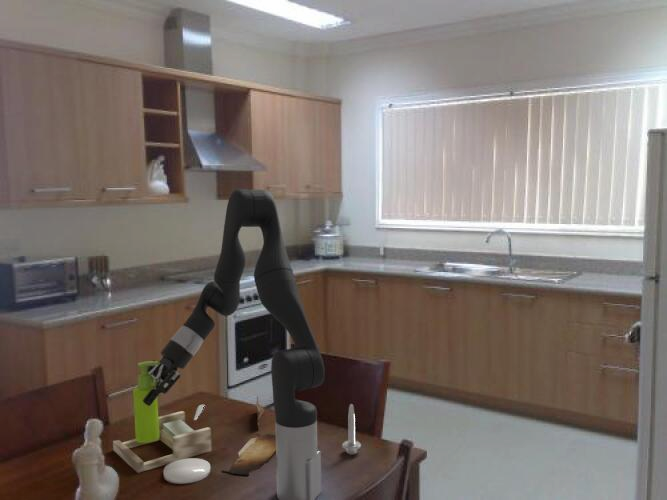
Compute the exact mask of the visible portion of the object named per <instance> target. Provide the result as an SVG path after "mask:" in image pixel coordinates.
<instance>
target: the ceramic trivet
mask: <svg viewBox="0 0 667 500" xmlns="http://www.w3.org/2000/svg"><path fill="white" fill-rule="evenodd" d="M210 473H211V464H210V462H208V461H207V460H206V459H203V458H198V457H194V458H193V457H189V458H186V459H181V460H177V461H174V462H172V463H169V464H166V465H165V467H164V468H163V478H164V480H165V481H167V482H168V483H172V484H176V485H177V484H179V485H180V484H181V485H182V484H183V485H185V484H192V483H197V482H199V481H202V480H203V479H205V478H207V477H208V476H209V475H210Z"/></svg>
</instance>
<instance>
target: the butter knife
mask: <svg viewBox="0 0 667 500" xmlns="http://www.w3.org/2000/svg"><path fill="white" fill-rule="evenodd" d="M204 406H205V407H206V405H205V404H200V405H198V406H197V408H196V410H195V415H194V417H193V421H197V419H198V418H199V417H198V416H200V415H201V413H203V411H204V409H203V407H204ZM205 407H204V408H205ZM202 410H203V411H202Z"/></svg>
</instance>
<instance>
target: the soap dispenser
mask: <svg viewBox="0 0 667 500" xmlns="http://www.w3.org/2000/svg"><path fill="white" fill-rule="evenodd" d="M149 365H160V362H159V360H158V361H157V360H155V361H153V360H146V361H142V362H138V363H137V366H138V368H140V374H139V375H137V387H135V388H134V389H133V390H132V391H133V397H132V398H133V411H134V412H133V414H134V431H135V432H134V435H135V439H136V441H137V442H139V443H147V444H150V443H149V442H151V443H154V442H153V441H155V442H157V441H156V440H157V439H159V417H160V416H159V401H158V400H159V399H158V396H159V395H158V396H157V398H156V399H155V400H154V401H153V403H152V404H151V405H150V406H148V405H147V404H145V403H144V402H143V400H144V398H145V397H146V396H147V394H148V393H149V392H150V391H151V389H153V387H154V385H152V377H151V374H149V373H148V366H149ZM153 390H154V389H153Z"/></svg>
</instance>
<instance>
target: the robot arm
mask: <svg viewBox="0 0 667 500" xmlns="http://www.w3.org/2000/svg"><path fill="white" fill-rule="evenodd" d="M243 227H245V228H248V227H249V228H250V227H251V228H252V227H253V228H257V227H259V228H260V230H261V233H262V239H263V243H262V248H261V252H260V254H259V255H258V256H259V257H258V259H257V261H256V263H255V264H256V265H255V268H254V272H253V279H254V283H255V287H256V290H257V294H258V297H259V301H260V302H261V304H262V306H263V307H264V308H265V310H266V311H268V313H269V314H270V315H271V317H272V316H273V318H274V319H275V320H276V321H278V322H279V323H280V324H281V325H282V326H283V327H284V329H286V331H287V332H288V334H289V336H290V337H291V339H292V342H293V344H294V346H295V347H294V348H288V349H281V350H278V351H276V352H275V353H274V354H273V356H272V358H271V362H270V363H271V365H270V367H271V368H270V370H271V384H272V401H273V402H272V403H273V408H274V409H273V410H274V415H275V416H274V417H275V422H274V423H275V435H276V451H275V463H276V464H275V466H276V467H275V469H276V478H275V479H276V496H277V499H278V500H316V498H317V497H318V496H319V495H320V494H321V492H322V451H320V450H318V410H317V407H316V406H315V405H314V404H313V403H311V402H309V401H306V400H305V401H304V400H301V399H300V400H299V399H296V394H295V392H299V391H304V390H308V389H309V390H310V389H314V388H318V387H321V386H322V385H323V383H324V381H325V375H326V372H325V364H324V360H323V357H322V354H321V351H320V349H319V345H318V343H317V341H316V338H315V336H314V334H313V333H314V332H313V331H312V329H311V326H310V323H309V322H308V318H307V316H306V312H305V310H304V306H303V302H302V299H301V296H300V292H299V287H298V284H297V281H296V278H295V275H294V270H293V267H292V265H291V262H290V259H289V256H288V252H287V250H286V245H285V242H284V238H283V232H282V228H281V223H280V219H279V212H278V208H277V205H276V201H275V198H274V196H273V195H272V192H270V191H268V190H267V189H266V190H265V189H245V188H244V189H242V188H241V189H236V190H235V189H234V191H232V192H231V194H230V196H229V198H228V200H227V205H226V211H225V219H224V225H223V234H222V235H223V236H222V242H221V250H220V254H219V257H218V260H217V265H216V268H215V271H214V273H213V280H212V281H210V282H208V283H206V285H204V287H203V289H202V291H201V292H200V296H199V298H198V300H197V303H196V304H195V307H194V309H193V311H192V313H191V314H190V315H189V317H188V318H187V319H186V320H185V322H184V323H183V325H181V326H180V327H179V329H178V330H177V331H176V332H175V333H174V334H173V335H172V337H171V338H170V339H169V341H168V342H167V343H166V345H165V346H164V347H163V348H162V350H161V351H160V355H161V357H162V358H161V359H160V360H158V362H160V365H148V373H149V374H151V377H152V386H154V387H153V389H154V390H153V389H151V391H150V392H149V393H148V394H147V396H146V397H145V398H144V400H143V402H144V403H145V404H147V405H148V406H150V405H151V404H152V403H153V401H154V400H155V399H156V398H157V396H159V395H161V394H164V395H166V394H168V391H170V389H171V388H172V387H173V386H174V385H175V384H176V382H178V380H179V379H180V378H181V374H180V373H179V372H178V369H180V370H184V369H185V368H186V367H187V365H188V364H189V362H190V361H191V360H192V358H193V357H194V356H195V355H196V353H197V352H198V351H199V350H200V348H201V346H202V344H203V343H204V341H205V340H206V339H207V338H208V336H209V335H210V333H211V332H212V331H213V329H214V328H215V325H216V324H215V321H214V320H213V318H212V317H211V316H210V315H209V314H208V313H207V309H208V308H210V309H212V310H213V311H215V312H217V314H220V315H221V316H224V317H227V316H232V315H233V314H234V313H235V312H236V311H237V310H238V307H239V304H240V297H241V295H240V294H241V290H240V289H241V288H240V286H241V285H240V283H241V282H240V281H241V278H242V276H243V272H244V270H245V267H246V253H245V251H244V249H243V246H242V244H241V241H240V238H239V234H240V233H239V232H240V231H241V228H243ZM152 361H156V359H153V360H152Z"/></svg>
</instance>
